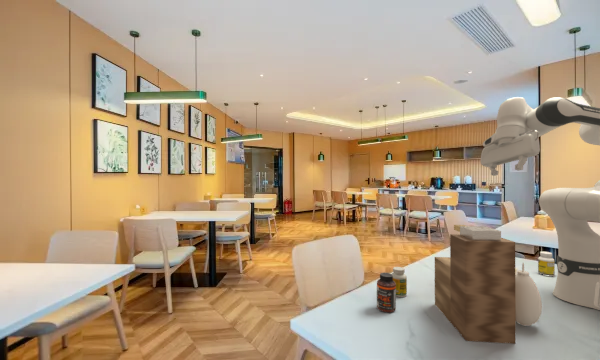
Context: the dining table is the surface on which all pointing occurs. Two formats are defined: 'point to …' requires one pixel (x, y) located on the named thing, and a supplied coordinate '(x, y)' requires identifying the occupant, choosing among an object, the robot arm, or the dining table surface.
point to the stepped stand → (478, 289)
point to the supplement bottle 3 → (546, 264)
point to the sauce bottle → (527, 299)
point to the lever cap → (478, 232)
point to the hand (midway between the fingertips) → (506, 172)
